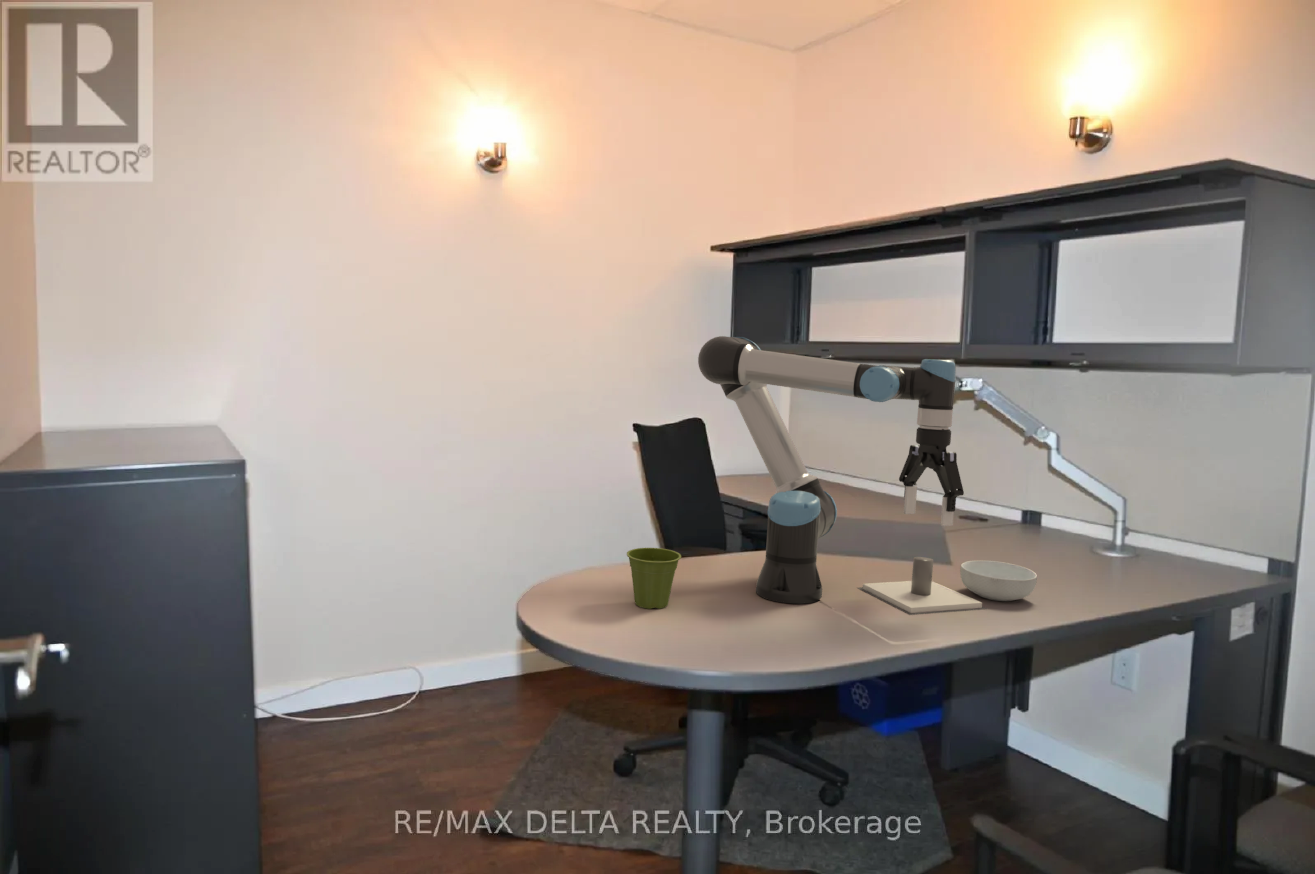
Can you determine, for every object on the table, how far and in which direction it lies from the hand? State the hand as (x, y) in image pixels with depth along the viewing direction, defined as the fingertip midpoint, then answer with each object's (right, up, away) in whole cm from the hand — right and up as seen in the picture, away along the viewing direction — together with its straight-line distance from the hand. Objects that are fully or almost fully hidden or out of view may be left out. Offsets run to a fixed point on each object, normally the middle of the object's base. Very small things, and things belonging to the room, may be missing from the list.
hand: (927, 519), depth 198 cm
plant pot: (-63, -18, -11) cm, 67 cm away
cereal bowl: (+18, -20, +7) cm, 28 cm away
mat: (-1, -19, +2) cm, 19 cm away
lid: (-1, -18, +2) cm, 19 cm away
